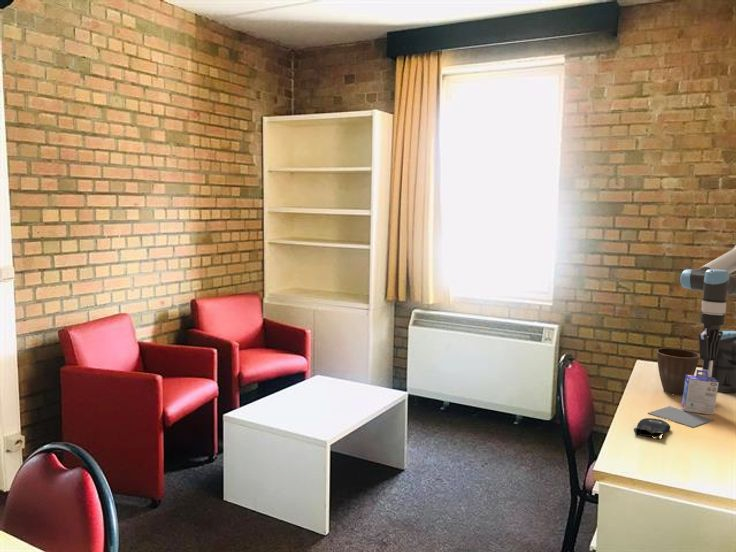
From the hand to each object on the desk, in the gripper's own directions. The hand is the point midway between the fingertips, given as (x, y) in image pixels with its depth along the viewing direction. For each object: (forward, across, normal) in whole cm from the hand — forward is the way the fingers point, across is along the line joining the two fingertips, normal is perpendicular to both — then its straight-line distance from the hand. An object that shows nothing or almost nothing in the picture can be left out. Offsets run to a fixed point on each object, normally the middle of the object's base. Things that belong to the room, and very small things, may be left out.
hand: (706, 377), depth 229 cm
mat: (+12, +16, 0) cm, 19 cm away
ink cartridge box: (+11, +4, 0) cm, 12 cm away
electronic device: (+12, +38, +3) cm, 40 cm away
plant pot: (+12, -10, -16) cm, 23 cm away
